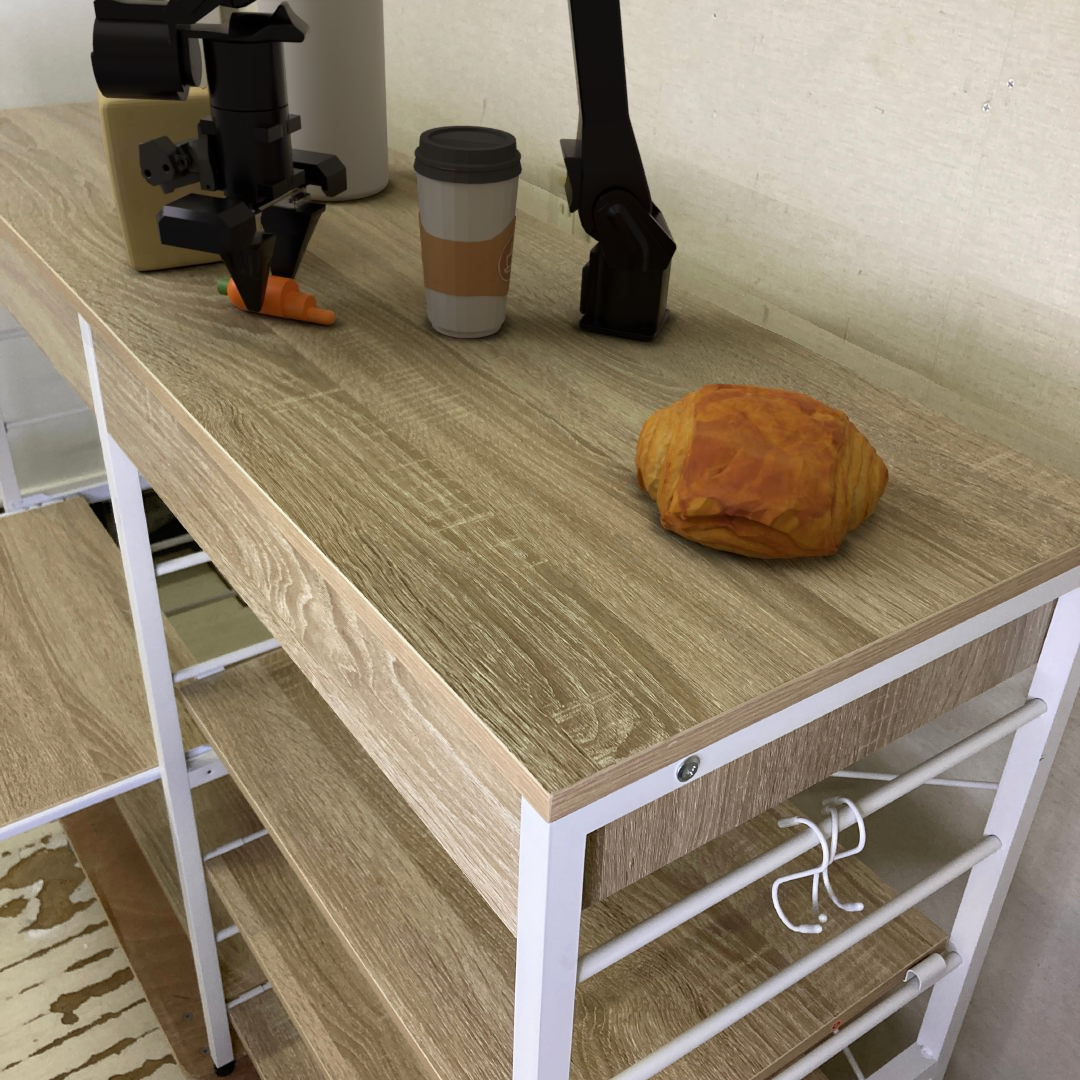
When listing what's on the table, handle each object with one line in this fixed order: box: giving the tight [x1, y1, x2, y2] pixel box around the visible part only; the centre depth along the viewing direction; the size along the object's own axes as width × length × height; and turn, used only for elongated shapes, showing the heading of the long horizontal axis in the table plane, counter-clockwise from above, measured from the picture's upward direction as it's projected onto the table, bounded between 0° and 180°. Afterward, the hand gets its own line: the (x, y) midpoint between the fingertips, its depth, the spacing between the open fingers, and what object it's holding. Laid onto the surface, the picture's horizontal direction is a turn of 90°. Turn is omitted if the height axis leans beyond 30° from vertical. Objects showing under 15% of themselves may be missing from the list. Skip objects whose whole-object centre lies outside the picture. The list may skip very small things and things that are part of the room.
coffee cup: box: [412, 125, 523, 339], centre depth 87 cm, size 8×8×15 cm
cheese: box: [96, 84, 226, 272], centre depth 102 cm, size 22×10×15 cm, turn 29°
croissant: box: [634, 383, 890, 560], centre depth 67 cm, size 14×16×8 cm
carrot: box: [217, 274, 336, 326], centre depth 90 cm, size 10×3×3 cm, turn 71°
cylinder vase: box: [256, 0, 390, 202], centre depth 114 cm, size 12×12×25 cm
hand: (268, 301), depth 90 cm, fingers open, 4 cm apart
